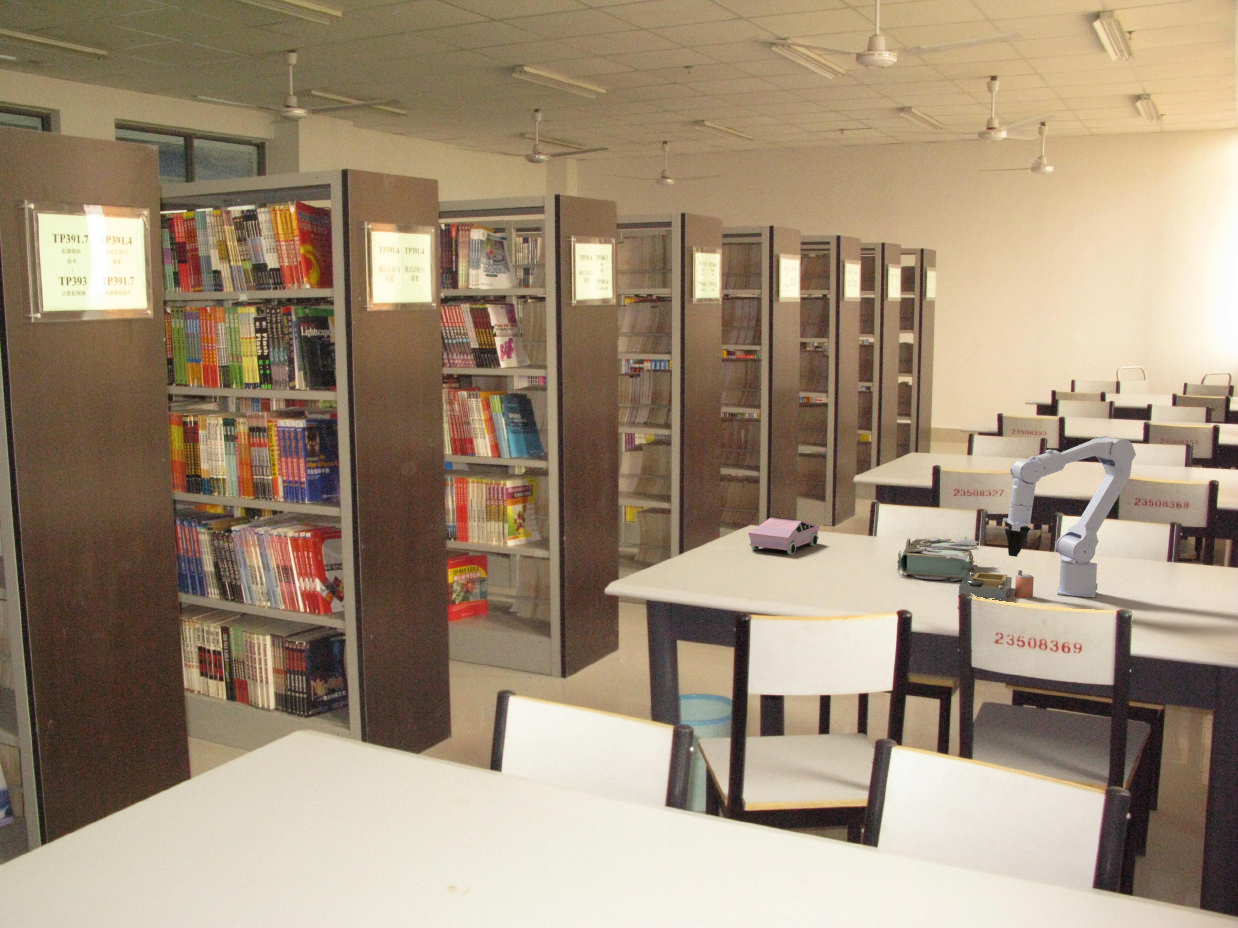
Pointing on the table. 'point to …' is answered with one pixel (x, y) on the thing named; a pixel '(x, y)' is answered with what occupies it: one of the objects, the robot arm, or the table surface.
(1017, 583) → the spout can
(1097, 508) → the robot arm
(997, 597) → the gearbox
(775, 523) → the toy car
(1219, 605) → the table surface
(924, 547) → the ornate book
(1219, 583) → the table surface
